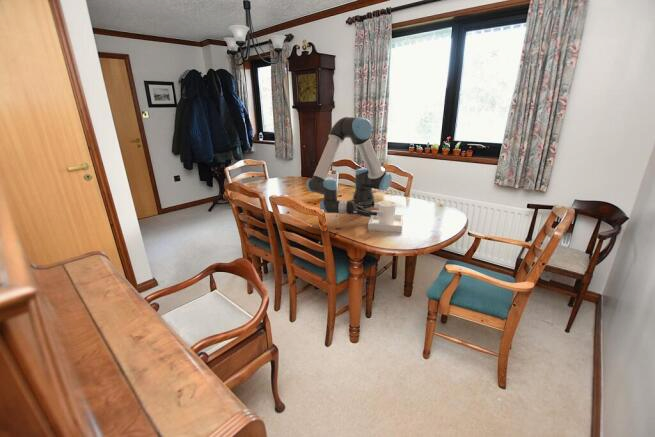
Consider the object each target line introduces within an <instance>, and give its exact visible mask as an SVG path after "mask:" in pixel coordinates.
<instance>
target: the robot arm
mask: <svg viewBox="0 0 655 437" xmlns="http://www.w3.org/2000/svg"><path fill="white" fill-rule="evenodd" d="M372 133H373V127H372V124H371V121H370V120H369V119H367V118H365V117H361V116H360V117H359V116H358V117H348V116H345V117H342V118H340V119H338V120H337V121H336V122H335V124H334V125H333V126H332V128H331V129H330V131H329V133H328V140H327V143H326V145H325V147H324V149H323V152H322V154H321V157H320V159H319V161H318V164H317V166H316V169H315V171H314V173H313V175H312V178H309V179H307V181H306V183H305V188H306V189H307V191H310V192H311V193H316V194H319V195H322V196H323V199H321V200H320V206H319V209H323V210H324V212H323V213H326V214H341V215H345V214H347V215H359V216H363V217H367V218H370V217H371V216H383V211H378V210H368V209H370V208H376V209H378V203H379V202H375V196H374V192H373V189H374V190H378V191H386V190H388V189H389V188H390V186H391V184H392V181H393V177H392V174H391V173H389V172H386V171H387V170H386V169H385V168H384V167H383V166H381V163H380V161H379V158H378V156H377V153H376V152H375V149H374V147H373V143H372V141H371V137H372V136H371V135H372ZM346 138H348V139H350V141H351V142H352V143H351V144H353V145H355V146H356V147H357V150H358V152H359V153H360V156H361V158H362V160H363V163H364V166H365V167H361V168H357V169H355V175H354V176H355V181H354V183H355V187H354V188H355V190H354V193H353V195H352V196H353V197H352V200H348V201H347V200H338V186H337V185H338V184H337V181H336V180H335V179H333V178H327V176H328V174H329V171H330V169H331V167H332V164H333V162H334V159H335V157H336V155H337V152H338V150H339V148H340V146H341V144H343V142H344V141H345V139H346ZM326 178H327V179H326Z"/></svg>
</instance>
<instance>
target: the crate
mask: <svg viewBox="0 0 655 437" xmlns="http://www.w3.org/2000/svg"><path fill="white" fill-rule="evenodd" d="M403 224H404V214H400V213H398V214H397V213H395V215H394V223H393V225H390V224H379V222H378V216H371V217H369V220H368V223H367V231H371V232H373V231H374V232H382V233H383V232H385V233H398V234H399V233H400V234H402V232H403Z"/></svg>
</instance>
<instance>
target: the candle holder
mask: <svg viewBox="0 0 655 437" xmlns="http://www.w3.org/2000/svg"><path fill="white" fill-rule="evenodd" d="M377 203H378V208H377V211H383V216H378V222H379V224H390V225H393V223H394V215H395V214H396V206H397V204H396V202H394V201H390V200H382V201H379V202H377Z"/></svg>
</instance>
